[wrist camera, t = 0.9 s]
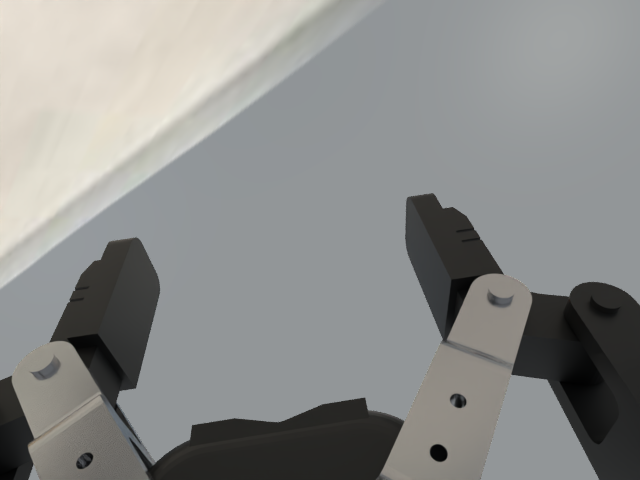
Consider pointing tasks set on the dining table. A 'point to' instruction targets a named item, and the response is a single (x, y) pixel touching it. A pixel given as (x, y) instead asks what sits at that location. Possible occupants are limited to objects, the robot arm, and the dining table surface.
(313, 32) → the dining table surface
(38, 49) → the dining table surface
